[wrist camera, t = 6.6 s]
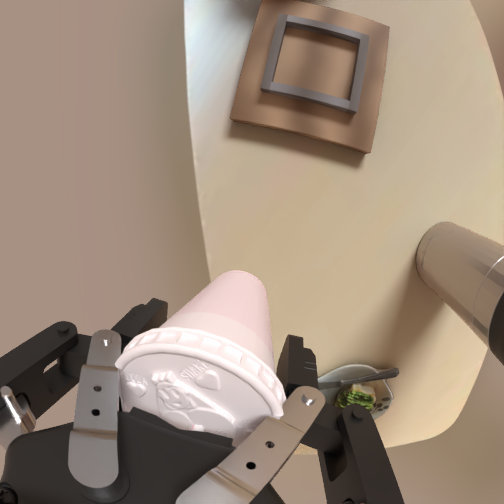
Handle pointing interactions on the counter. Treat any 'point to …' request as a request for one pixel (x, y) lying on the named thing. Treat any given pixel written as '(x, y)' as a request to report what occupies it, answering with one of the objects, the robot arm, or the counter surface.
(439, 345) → the counter surface
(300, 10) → the base board
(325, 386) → the salad plate
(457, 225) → the robot arm
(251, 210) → the counter surface
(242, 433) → the smoothie
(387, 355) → the counter surface
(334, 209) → the counter surface
